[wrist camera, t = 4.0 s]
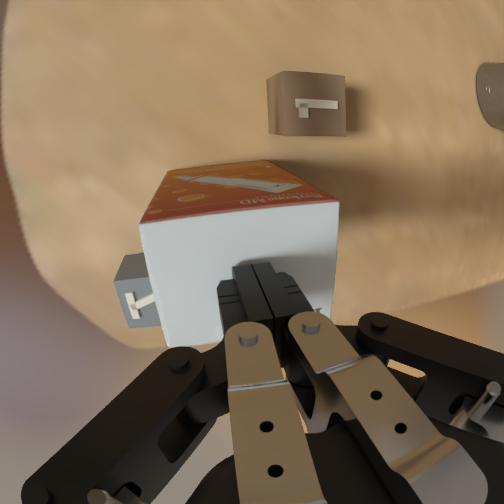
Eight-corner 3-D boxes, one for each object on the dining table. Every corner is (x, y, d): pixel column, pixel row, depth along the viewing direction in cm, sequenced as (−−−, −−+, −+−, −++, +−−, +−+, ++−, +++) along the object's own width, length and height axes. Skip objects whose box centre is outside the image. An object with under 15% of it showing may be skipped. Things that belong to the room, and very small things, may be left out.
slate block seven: (174, 248, 24) (171, 275, 20) (182, 292, 26) (182, 324, 22) (124, 255, 24) (113, 282, 20) (136, 298, 26) (128, 329, 21)
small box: (266, 158, 23) (345, 198, 11) (269, 231, 25) (333, 324, 14) (164, 169, 21) (134, 223, 10) (175, 243, 24) (168, 353, 13)
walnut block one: (318, 82, 21) (346, 75, 16) (320, 132, 23) (347, 136, 18) (266, 79, 20) (284, 70, 16) (268, 133, 22) (286, 136, 18)
